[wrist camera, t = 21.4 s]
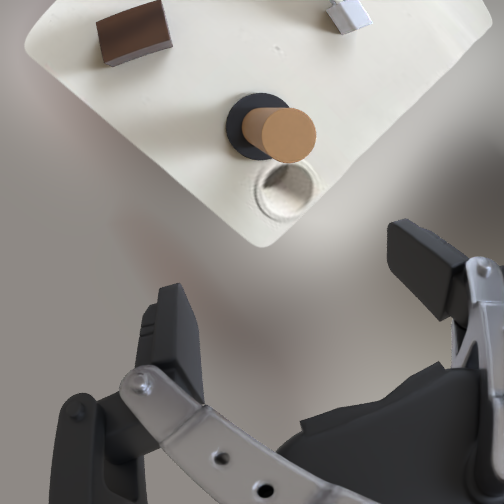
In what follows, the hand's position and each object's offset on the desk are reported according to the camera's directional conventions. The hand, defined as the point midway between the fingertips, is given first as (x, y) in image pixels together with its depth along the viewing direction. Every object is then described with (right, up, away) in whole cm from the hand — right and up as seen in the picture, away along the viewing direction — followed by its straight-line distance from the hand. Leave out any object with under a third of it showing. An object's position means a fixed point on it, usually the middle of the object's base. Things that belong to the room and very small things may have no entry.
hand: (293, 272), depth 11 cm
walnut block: (-16, +28, +17) cm, 36 cm away
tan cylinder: (+1, +12, +26) cm, 28 cm away
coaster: (0, +17, +26) cm, 31 cm away
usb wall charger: (+10, +34, +19) cm, 40 cm away
